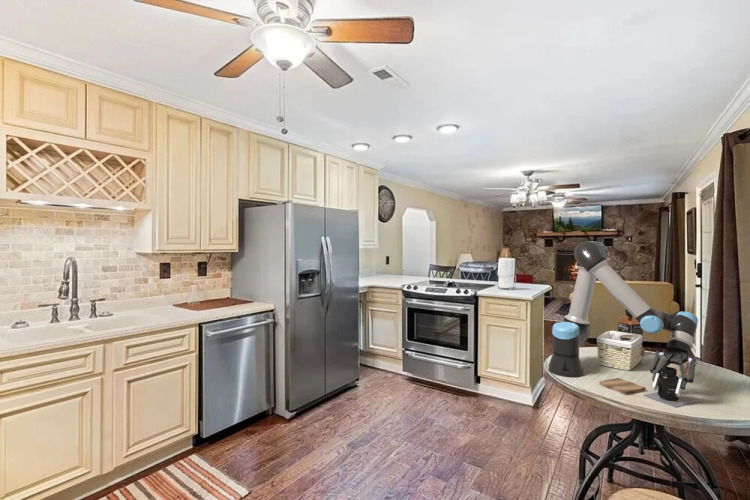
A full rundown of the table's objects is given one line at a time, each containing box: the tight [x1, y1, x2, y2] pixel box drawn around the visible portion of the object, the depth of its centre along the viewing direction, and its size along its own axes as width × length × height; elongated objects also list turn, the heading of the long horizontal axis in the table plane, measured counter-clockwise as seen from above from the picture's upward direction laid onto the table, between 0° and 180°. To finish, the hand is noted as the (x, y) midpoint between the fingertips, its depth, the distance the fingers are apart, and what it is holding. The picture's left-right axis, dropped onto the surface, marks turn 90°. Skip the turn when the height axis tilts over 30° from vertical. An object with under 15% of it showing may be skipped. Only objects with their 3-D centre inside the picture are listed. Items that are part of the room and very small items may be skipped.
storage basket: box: [596, 330, 644, 371], centre depth 193 cm, size 24×16×15 cm
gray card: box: [643, 391, 696, 408], centre depth 150 cm, size 12×12×1 cm
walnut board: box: [599, 377, 646, 396], centre depth 161 cm, size 12×12×2 cm
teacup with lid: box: [667, 356, 691, 377], centre depth 180 cm, size 12×9×12 cm
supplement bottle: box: [657, 366, 680, 401], centre depth 150 cm, size 7×7×12 cm
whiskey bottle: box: [617, 308, 645, 357], centre depth 210 cm, size 10×10×32 cm
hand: (665, 391), depth 147 cm, fingers closed on supplement bottle, 7 cm apart
